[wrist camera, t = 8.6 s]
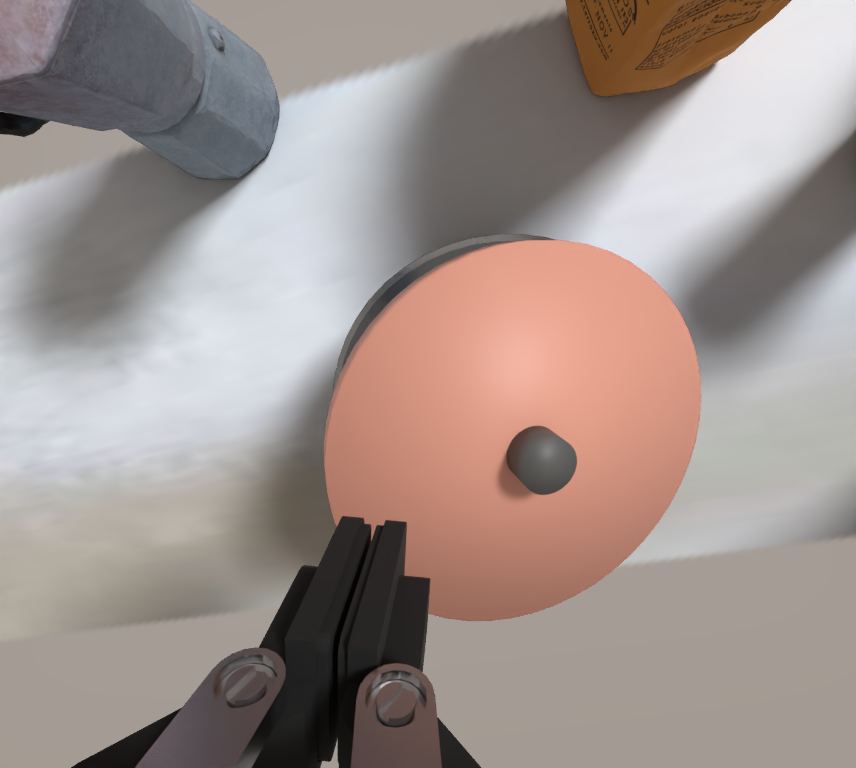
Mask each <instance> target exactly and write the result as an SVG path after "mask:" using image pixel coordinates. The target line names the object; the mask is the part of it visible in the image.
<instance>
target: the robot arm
mask: <svg viewBox="0 0 856 768" xmlns="http://www.w3.org/2000/svg"><path fill="white" fill-rule="evenodd" d="M406 533H407V522H403V521H392V520H385V523H384V525H377V526H376V529H375V532H374V535H373V538H372V541H371V524H365V523H364V518H360V517H350V516H342V517H341V519H340V521H339V523H338V526H337V528H336V530H335V532H334V534H333V536H332V538H331V541H330V543H329V545H328V547H327V549H326V551H325V553H324V556H323V558H322V560H321V562H320V564H319V566H318V567H315V566H306V565H304V566H302V567H301V569H300V570H299V572H298V574H297V575H296V577H295V579H294V581H293V583H292V585H291V587H290V589H289V591H288V593H287V595H286V597H285V598H284V600H283V602H282V604H281V606H280V608H279V610H278V612H277V614H276V616H275V618H274V620H273V621H272V623H271V625H270V627H269V629H268V631H267V633H266V635H265V637H264V639H263V641H262V643H261V645H260V646H259V648H249V649H243V650H241V651H238V652H236V653H233V654H231V655H230V656H228V657H226V658H225V659H223V660H222V661H221V662H219V664H217V666H216V667H214V668H213V669H212V671H211V672H210V673H209V674H208V676H207V677H206V678H205V680H204V681H203V682H202V683H201V685H200V686H199V687H198V688H197V690H196V691H195V692H194V694H193V695H192V696H191V697H190V699H189V700H188V701H187V702H186V704H185V705H184V706H183V707H182V708H180V709H178V710H177V711H175V712H173V713H171V714H169V715H167V716H166V717H164V718H162V719H160V720H158V721H156V722H154V723H152V724H150V725H148V726H147V727H145V728H143V729H141V730H139V731H137V732H135V733H133V734H132V735H130V736H128V737H126V738H124V739H122V740H121V741H119V742H117V743H115V744H113V745H111V746H110V747H107V748H105V749H104V750H102V751H100V752H98V753H96V754H95V755H92V756H90V757H89V758H87V759H85V760H83V761H81V762H79V763H77V764H76V765H75V766H73V767H71V768H320V766H321V763H322V761H331V759H332V756H333V753H334V749H335V745H336V741H337V738H338V763H339V768H481V767H480V766H479V764H478V763H477V762H476V761H475V760H474V759H473V758H472V756H471V755H470V754H469V753H468V752H467V751H466V750H465V748H464V747H463V746H462V745H461V744H460V743H459V741H458V740H457V739H456V738H455V737H454V736H453V734H452V733H451V732H450V731H449V730H448V729H447V728H446V726H445V725H444V724H443V723H442V722H441V721H440V720H439V718H438V717H437V710H436V699H435V693H434V689H433V686H432V684H431V682H430V681H429V679H428V678H427V676H426V675H425V674H423V673H422V672H423V662H424V652H425V643H426V633H427V622H428V609H429V595H430V578H424V577H414V576H405V575H404V574H405V553H406Z"/></svg>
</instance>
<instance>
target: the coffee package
mask: <svg viewBox="0 0 856 768" xmlns="http://www.w3.org/2000/svg"><path fill="white" fill-rule="evenodd" d="M790 1H791V0H566V6H567V12H568V16H569V20H570V25H571V28H572V32H573V36H574V40H575V43H576V46H577V49H578V52H579V56H580V60H581V64H582V67H583V71H584V74H585V76H586V79H587V82H588V85H589V87H590V89H591V91H592V92H593V93H594V94H596V95H599V96H613V95H619V94H624V93H631V92H641V91H647V90H654V89H659V88H663V87H667V86H670V85H673V84H675V83H676V82H678V81H680V80H681V79H683V78H684V77H687V76H690V75H692V74H695V73H697V72H699V71H701V70H703V69H705V68H707V67H709V66H710V65H712V64H714V63H715V62H717V61H719V60H721V59H722V58H724V57H726V56H728V55H730V54H731V53H732V52H734V51H735V50H736V49H737V48H738V47H739V46H740V45H741V44H743V43H744V42H745V41H746V40H747V39H748V38H749V37H750V36H751V35H752V34H753V33H755V32H756V31H757V30H758V29H760V28H761V27H762V26H763V25H765V24H766V23H767V22H769V21H770V20H771V19H773V18H774V17H775V16H776V15H777V14H778V13H779V12H780V11H781V10H782V9H783V8H784V7H785V6H786V5H787V4H788V3H789V2H790Z"/></svg>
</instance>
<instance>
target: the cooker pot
mask: <svg viewBox="0 0 856 768" xmlns="http://www.w3.org/2000/svg"><path fill="white" fill-rule="evenodd" d="M518 240H554V239H550V238H547V237H539V236H531V235H523V234H501V235H489V236H483V237H476V238H470V239H467V240H463V241H460V242H456V243H453V244H449V245H446V246H444V247H442V248H439V249H437V250H435V251H433V252H430V253H428V254H426V255H424V256H422V257H420V258H419V259H417V260H416V261H414V262H412V263H411V264H409V265H407V266H406V267H404V268H403V269H402V270H400V271H399V272H398V273H397V274H395V275H394V276H393V277H392V278H391V279H389V280H388V281H387V282H386V283H385V284H384V285H383V286H382V287H381V288H380V289H379V290H378V291H377V292H376V293H375V294H374V295H373V296H372V298H371V299H370V300H369V301H368V302H367V304H366V305H365V307H364V308H363V309H362V311H361V312H360V314H359V315H358V317H357V318H356V320H355V322H354V323H353V325H352V327H351V329H350V331H349V333H348V335H347V337H346V339H345V342H344V345H343V348H342V350H341V353H340V356H339V359H338V363H337V368H336V373H335V378H334V388H333V392H334V389H335V387H336V384H337V381H338V378H339V375H340V373H341V371H342V369H343V367H344V365H345V363H346V361H347V359H348V357H349V355H350V353H351V351H352V350H353V348H354V346H355V345H356V343H357V342H358V340H359V339H360V337H361V336H362V335H363V333H364V332H365V330H366V329H367V327H368V326H369V324H370V323H371V322H372V321H373V320H374V319H375V317H376V316H377V315H378V314H379V313H380V312H381V311H382V310H383V309H384V308H385V306H386V305H387V304H388V303H389V302H390V301H391V300H392V299H393V298H394V297H396V296H397V295H398V294H399V293H400V292H402V291H403V290H404V289H405V288H406V287H407V286H409V285H410V284H411V283H412V282H413V281H415V280H416V279H418V278H419V277H421V276H423V275H424V274H426V273H427V272H429V271H430V270H432V269H433V268H435V267H436V266H438V265H440V264H442V263H444V262H446V261H449V260H451V259H453V258H455V257H457V256H459V255H461V254H463V253H466V252H469V251H473V250H476V249H479V248H482V247H486V246H489V245H493V244H499V243H505V242H512V241H518Z"/></svg>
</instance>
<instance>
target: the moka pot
mask: <svg viewBox="0 0 856 768" xmlns="http://www.w3.org/2000/svg"><path fill="white" fill-rule="evenodd" d="M0 111H2V112H0V134H9V135H17V136H22V137H25V136H28V135H31V134H33V133H35V132H36V131H37V130H38V129H40V128H41V127H42V125H44V124H46V123H47V122H49V121H54V122H59V123H64V124H68V125H73V126H78V127H83V128H88V129H93V130H98V131H105V130H111V129H119V130H121V131H123V132H124V133H126V134H127V135H128V136H130V137H131V138H133V139H134V140H136V141H138V142H140V143H141V144H143V145H145V146H146V147H148V148H149V149H151V150H152V151H154V152H155V153H157V154H158V155H160V156H161V157H163V158H165V159H167V160H168V161H170V162H171V163H173V164H174V165H176V166H177V167H179V168H181V169H182V170H183V171H185V172H187V173H188V174H190V175H192V176H194V177H196V178H203V179H237V178H239V177H241V176H242V175H244V174H245V173H247V172H248V171H250V170H251V169H252V168H253V167H254V166H255V165H257V164H258V163H259V162H260V161H261V160H262V159H264V158H265V156H266V155H267V153H268V152H269V150H270V147H271V145H272V143H273V141H274V137H275V132H276V129H277V125H278V120H279V101H278V97H277V92H276V89H275V86H274V83H273V80H272V78H271V75H270V73H269V71H268V69H267V66H266V63H265V61H264V60H263V58H262V57H261V55H260V54H259V53H258V52H256V51H255V50H254V49H253V48H251V47H250V46H249V45H248V44H246V43H245V42H244V41H243V40H241V39H240V38H239V37H238V36H236V35H235V34H234V33H232V32H231V31H230V30H229V29H227V28H226V27H225V26H224V25H222V24H221V23H220V22H219V21H217V20H216V19H215V18H213V17H212V16H210V15H209V14H207V13H206V12H205V11H203V10H202V9H200V8H199V7H198V6H197V5H195V4H194V3H192V2H191V1H190V0H0ZM6 112H7V113H6Z"/></svg>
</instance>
